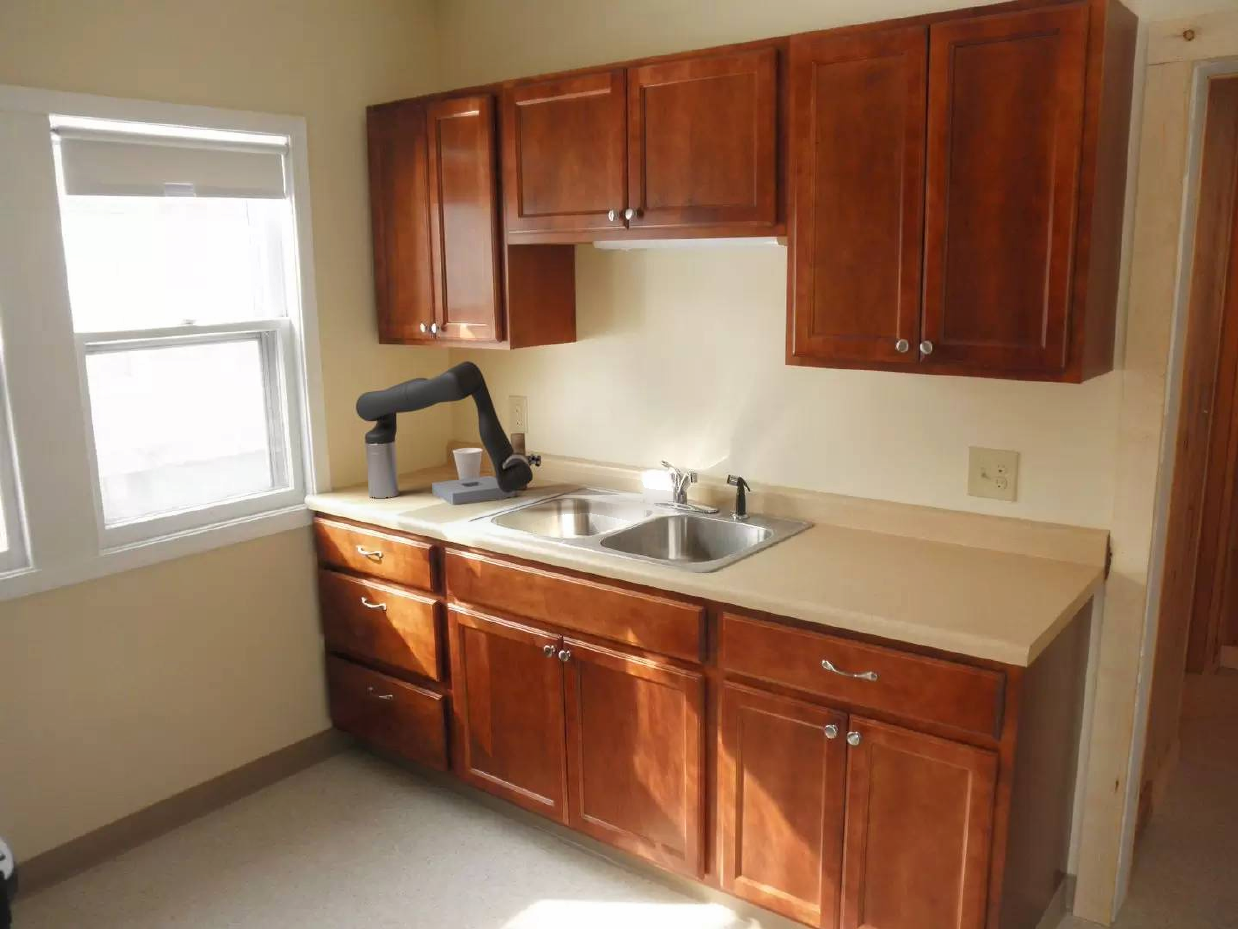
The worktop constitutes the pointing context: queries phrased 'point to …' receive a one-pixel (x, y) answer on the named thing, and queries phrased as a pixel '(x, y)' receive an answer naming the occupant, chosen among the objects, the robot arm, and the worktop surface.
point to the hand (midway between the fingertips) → (519, 457)
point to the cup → (468, 462)
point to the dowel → (519, 449)
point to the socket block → (469, 490)
